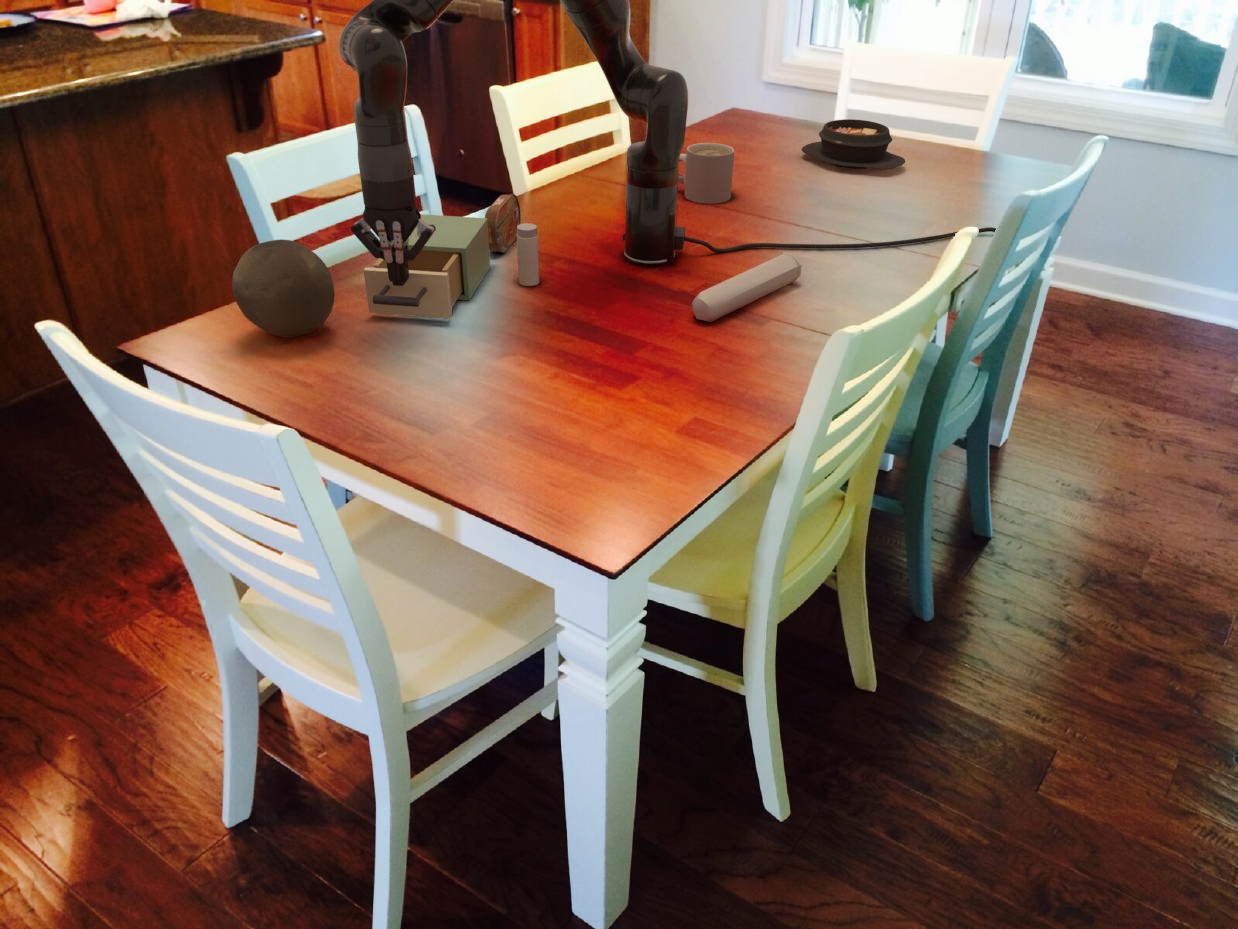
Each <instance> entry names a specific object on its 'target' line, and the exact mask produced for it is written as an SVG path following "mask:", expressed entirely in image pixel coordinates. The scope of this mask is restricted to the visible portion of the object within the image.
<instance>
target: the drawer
mask: <svg viewBox="0 0 1238 929" xmlns="http://www.w3.org/2000/svg"><path fill="white" fill-rule="evenodd" d="M408 250H409V249H408ZM408 269H409V279H408V280H407V281H406V283H405V284H404V285H403V286H394V285H393V282H390V280H389V278H388V270H387V263H386V261H385V260H383V259H381V258H378V259H377V261H375V263H373V266H372V267H368V266H366V267H365V268H364V269H363V277H364V285H365V291H366V292H365V293H366V300H367V307H368V313H371V314H386V315H397V316H411V317H424V318H425V317H426V318H440V319H451V318H452V316H453V309H452V308H453V306H454V305H455V303H456V302H457V300H458V297H459V296H460V294H461V293H462V291H463V290H464V281H463V268H462V254H461V253H459V252H443V251H428V250H421V251H420V252H419V254H418V255H417V256H416V257H415V259H414V260H412V261H410V260H408Z"/></svg>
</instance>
